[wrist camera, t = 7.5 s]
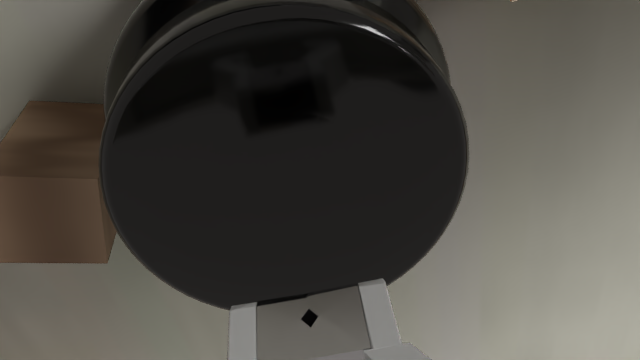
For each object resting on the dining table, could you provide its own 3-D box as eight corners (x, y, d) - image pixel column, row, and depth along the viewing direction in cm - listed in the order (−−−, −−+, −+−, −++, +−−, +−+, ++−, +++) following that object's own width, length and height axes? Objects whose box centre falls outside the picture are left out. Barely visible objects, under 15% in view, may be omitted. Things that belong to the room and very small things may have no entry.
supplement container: (392, 127, 28) (472, 311, 18) (170, 149, 28) (129, 351, 18) (397, -117, 22) (518, -39, 13) (115, -96, 22) (9, 3, 12)
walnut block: (125, 104, 26) (97, 179, 21) (131, 180, 28) (107, 263, 23) (29, 100, 26) (-22, 175, 21) (43, 177, 28) (-1, 262, 23)
